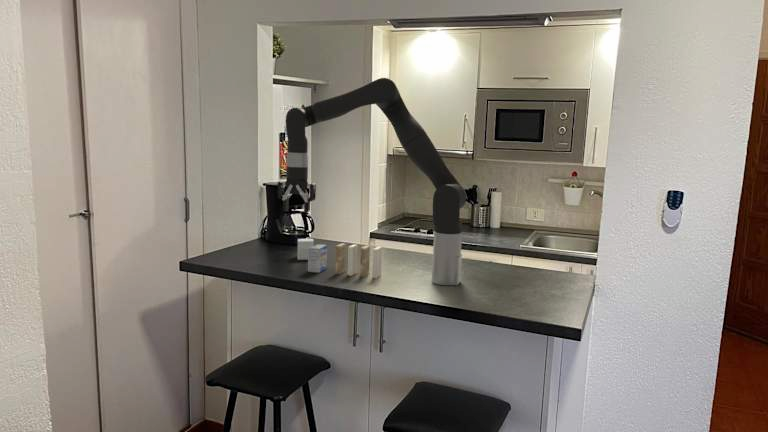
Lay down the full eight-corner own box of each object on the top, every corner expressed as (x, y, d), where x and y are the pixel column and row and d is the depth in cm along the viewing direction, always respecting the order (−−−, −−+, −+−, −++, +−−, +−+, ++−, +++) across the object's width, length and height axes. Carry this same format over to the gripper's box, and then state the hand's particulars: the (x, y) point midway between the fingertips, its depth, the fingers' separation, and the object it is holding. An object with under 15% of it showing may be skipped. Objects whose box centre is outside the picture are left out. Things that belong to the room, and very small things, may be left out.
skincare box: (313, 260, 225) (313, 241, 224) (297, 260, 224) (297, 241, 223) (312, 256, 231) (313, 238, 230) (297, 256, 230) (297, 238, 229)
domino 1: (344, 271, 209) (345, 243, 207) (339, 274, 204) (340, 246, 202) (340, 270, 209) (341, 243, 208) (335, 273, 204) (336, 245, 203)
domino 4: (381, 275, 205) (382, 246, 203) (376, 278, 200) (377, 249, 199) (376, 274, 205) (377, 246, 204) (372, 277, 200) (373, 249, 199)
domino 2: (356, 272, 207) (357, 244, 206) (351, 275, 203) (352, 247, 201) (352, 272, 208) (353, 244, 206) (347, 275, 203) (348, 246, 202)
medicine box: (319, 273, 205) (320, 248, 203) (307, 272, 206) (308, 247, 204) (327, 268, 212) (327, 244, 211) (315, 267, 213) (315, 243, 212)
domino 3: (368, 273, 206) (369, 245, 205) (364, 277, 201) (365, 248, 200) (364, 273, 206) (365, 245, 205) (359, 276, 202) (360, 247, 200)
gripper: (320, 166, 208) (319, 212, 210) (283, 164, 212) (282, 209, 214) (311, 167, 201) (310, 214, 203) (273, 164, 205) (273, 211, 207)
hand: (296, 211), depth 209 cm, fingers open, 7 cm apart
